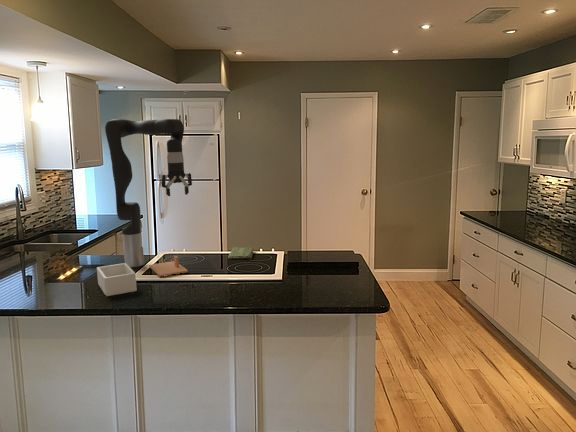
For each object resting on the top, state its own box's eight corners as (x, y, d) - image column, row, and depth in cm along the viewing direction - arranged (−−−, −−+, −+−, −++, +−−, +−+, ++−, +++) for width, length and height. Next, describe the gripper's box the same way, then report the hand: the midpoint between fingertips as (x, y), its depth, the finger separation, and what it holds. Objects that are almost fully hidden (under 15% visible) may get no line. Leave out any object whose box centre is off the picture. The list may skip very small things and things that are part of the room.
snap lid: (175, 264, 258) (174, 251, 257) (187, 274, 241) (186, 260, 239) (149, 268, 252) (148, 255, 251) (160, 278, 234) (159, 264, 233)
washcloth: (227, 260, 264) (226, 254, 263) (232, 252, 281) (232, 246, 281) (251, 260, 263) (251, 254, 263) (255, 251, 281) (254, 246, 280)
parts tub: (127, 279, 234) (125, 262, 232) (136, 290, 217) (135, 273, 215) (98, 284, 228) (96, 267, 226) (105, 296, 210) (104, 278, 209)
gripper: (187, 160, 241) (189, 193, 244) (158, 162, 234) (160, 195, 237) (192, 161, 234) (194, 194, 237) (162, 162, 228) (165, 197, 230)
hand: (177, 195), depth 237 cm, fingers open, 8 cm apart
